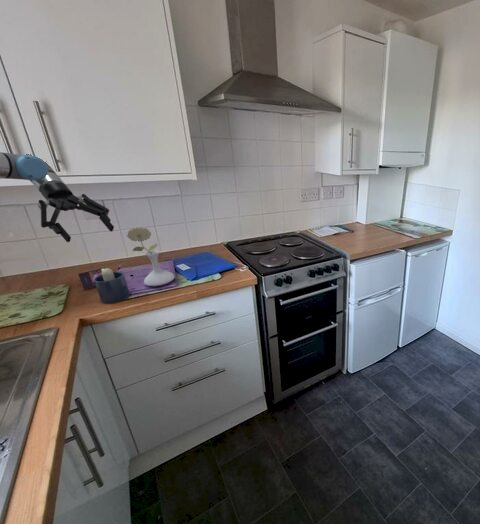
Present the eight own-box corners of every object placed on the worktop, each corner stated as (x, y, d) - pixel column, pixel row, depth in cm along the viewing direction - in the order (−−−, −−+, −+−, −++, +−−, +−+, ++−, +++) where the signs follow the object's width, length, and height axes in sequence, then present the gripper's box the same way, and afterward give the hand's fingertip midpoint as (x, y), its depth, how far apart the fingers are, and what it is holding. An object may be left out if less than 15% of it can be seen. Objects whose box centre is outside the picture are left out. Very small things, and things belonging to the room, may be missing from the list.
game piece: (105, 298, 114) (95, 271, 110) (112, 292, 118) (103, 266, 114) (117, 298, 115) (108, 271, 110) (125, 292, 119) (116, 266, 114)
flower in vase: (178, 275, 135) (165, 222, 125) (170, 287, 125) (155, 229, 115) (146, 278, 132) (130, 223, 122) (135, 290, 122) (117, 231, 112)
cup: (95, 303, 112) (87, 282, 109) (111, 292, 121) (104, 272, 117) (120, 303, 113) (113, 281, 109) (134, 291, 121) (128, 271, 118)
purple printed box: (78, 273, 121) (105, 267, 127) (77, 274, 124) (104, 267, 130) (84, 289, 122) (111, 282, 128) (83, 289, 125) (110, 282, 131)
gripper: (91, 190, 119) (125, 231, 120) (4, 201, 98) (46, 251, 99) (94, 177, 115) (130, 219, 115) (5, 186, 94) (49, 238, 95)
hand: (91, 234), depth 107 cm, fingers open, 13 cm apart
